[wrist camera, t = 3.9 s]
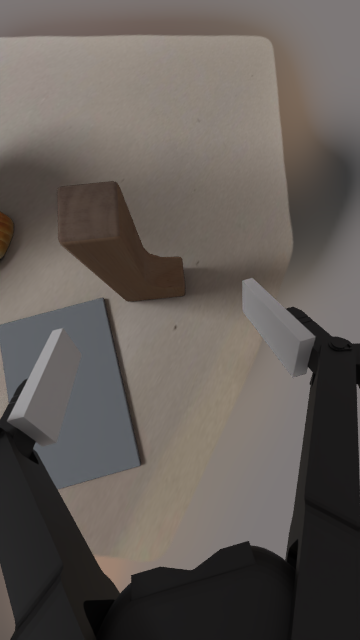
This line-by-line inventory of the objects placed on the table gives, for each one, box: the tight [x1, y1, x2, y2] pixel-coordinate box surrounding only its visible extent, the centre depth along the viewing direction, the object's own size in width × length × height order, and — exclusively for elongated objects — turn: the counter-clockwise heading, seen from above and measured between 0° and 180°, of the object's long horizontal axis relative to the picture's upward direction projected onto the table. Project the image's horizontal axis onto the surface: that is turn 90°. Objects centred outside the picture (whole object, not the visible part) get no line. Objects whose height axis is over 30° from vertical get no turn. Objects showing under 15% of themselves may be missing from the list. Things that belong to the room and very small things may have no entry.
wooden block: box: [57, 181, 185, 301], centre depth 24 cm, size 9×4×18 cm, turn 96°
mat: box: [0, 298, 141, 489], centre depth 30 cm, size 24×16×1 cm, turn 15°
